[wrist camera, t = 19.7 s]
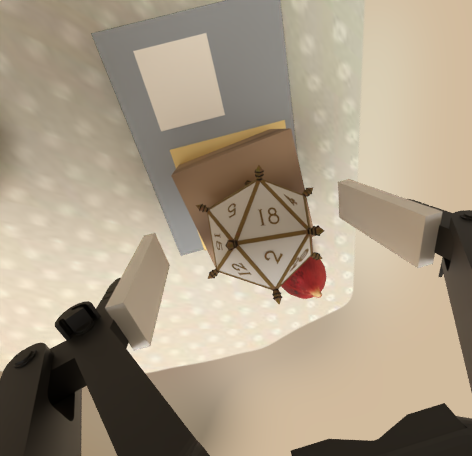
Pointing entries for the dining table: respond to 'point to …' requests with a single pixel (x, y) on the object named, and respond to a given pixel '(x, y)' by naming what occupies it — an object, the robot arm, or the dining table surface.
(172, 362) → the dining table surface
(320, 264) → the red oval piece
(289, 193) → the game die
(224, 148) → the walnut slab
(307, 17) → the dining table surface
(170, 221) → the board
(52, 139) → the dining table surface
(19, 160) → the dining table surface
